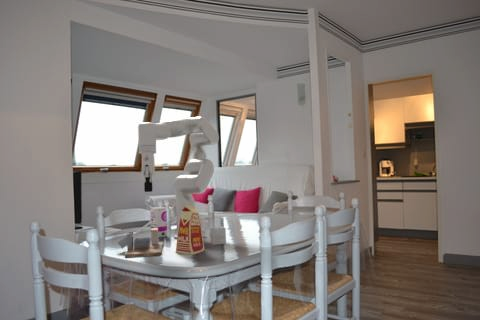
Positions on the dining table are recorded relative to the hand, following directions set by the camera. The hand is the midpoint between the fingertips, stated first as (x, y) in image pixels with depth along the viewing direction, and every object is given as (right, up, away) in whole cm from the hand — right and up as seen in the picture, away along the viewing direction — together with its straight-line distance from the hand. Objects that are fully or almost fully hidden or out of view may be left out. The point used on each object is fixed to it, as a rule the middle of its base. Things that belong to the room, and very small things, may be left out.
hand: (148, 191), depth 168 cm
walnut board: (0, -25, -6) cm, 26 cm away
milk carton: (+20, -24, -11) cm, 33 cm away
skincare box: (+31, -25, +5) cm, 40 cm away
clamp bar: (-3, -19, -6) cm, 20 cm away
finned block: (-1, -24, -6) cm, 25 cm away
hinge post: (-6, -24, -7) cm, 26 cm away
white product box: (-1, -26, +29) cm, 39 cm away
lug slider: (+3, -24, 0) cm, 24 cm away
